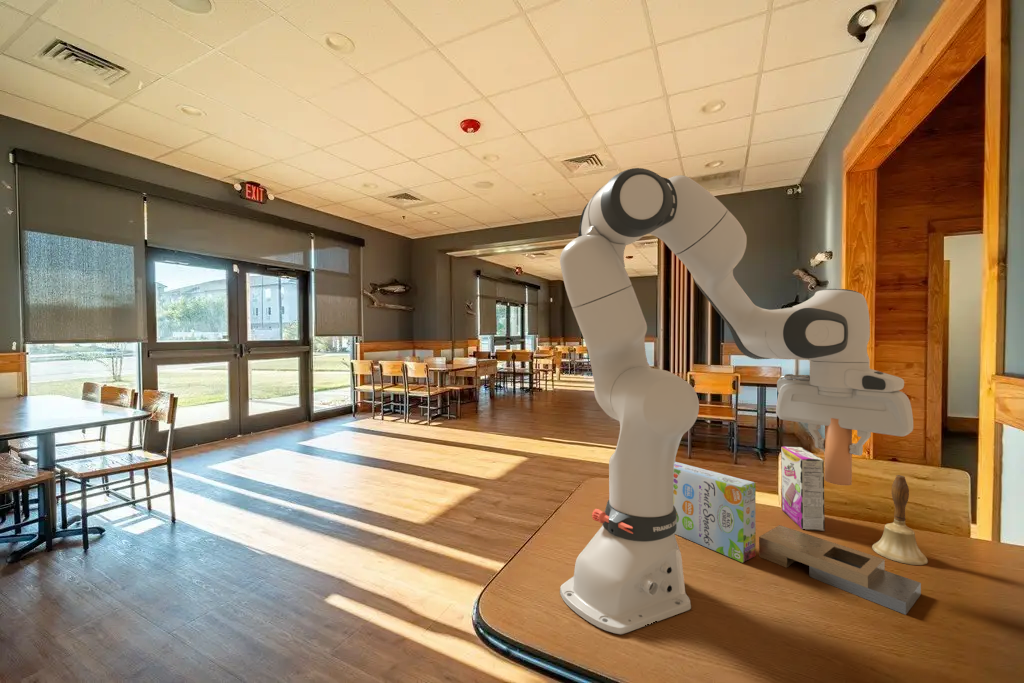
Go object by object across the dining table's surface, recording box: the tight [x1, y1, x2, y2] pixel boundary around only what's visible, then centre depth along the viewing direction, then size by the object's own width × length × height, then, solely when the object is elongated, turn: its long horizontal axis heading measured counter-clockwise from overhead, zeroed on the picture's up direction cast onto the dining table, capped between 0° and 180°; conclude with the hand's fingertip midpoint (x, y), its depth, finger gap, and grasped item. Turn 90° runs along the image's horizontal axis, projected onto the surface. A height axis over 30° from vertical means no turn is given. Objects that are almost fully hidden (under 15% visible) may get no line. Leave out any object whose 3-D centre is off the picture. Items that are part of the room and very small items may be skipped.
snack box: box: [673, 461, 757, 563], centre depth 92 cm, size 21×6×15 cm, turn 34°
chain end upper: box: [758, 524, 886, 588], centre depth 80 cm, size 9×17×4 cm, turn 35°
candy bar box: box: [780, 446, 826, 532], centre depth 101 cm, size 11×5×16 cm, turn 168°
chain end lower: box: [808, 557, 922, 616], centre depth 75 cm, size 9×13×2 cm
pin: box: [824, 418, 853, 486], centre depth 79 cm, size 4×4×12 cm
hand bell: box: [871, 474, 929, 566], centre depth 85 cm, size 8×8×16 cm
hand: (838, 451), depth 79 cm, fingers closed on pin, 4 cm apart
